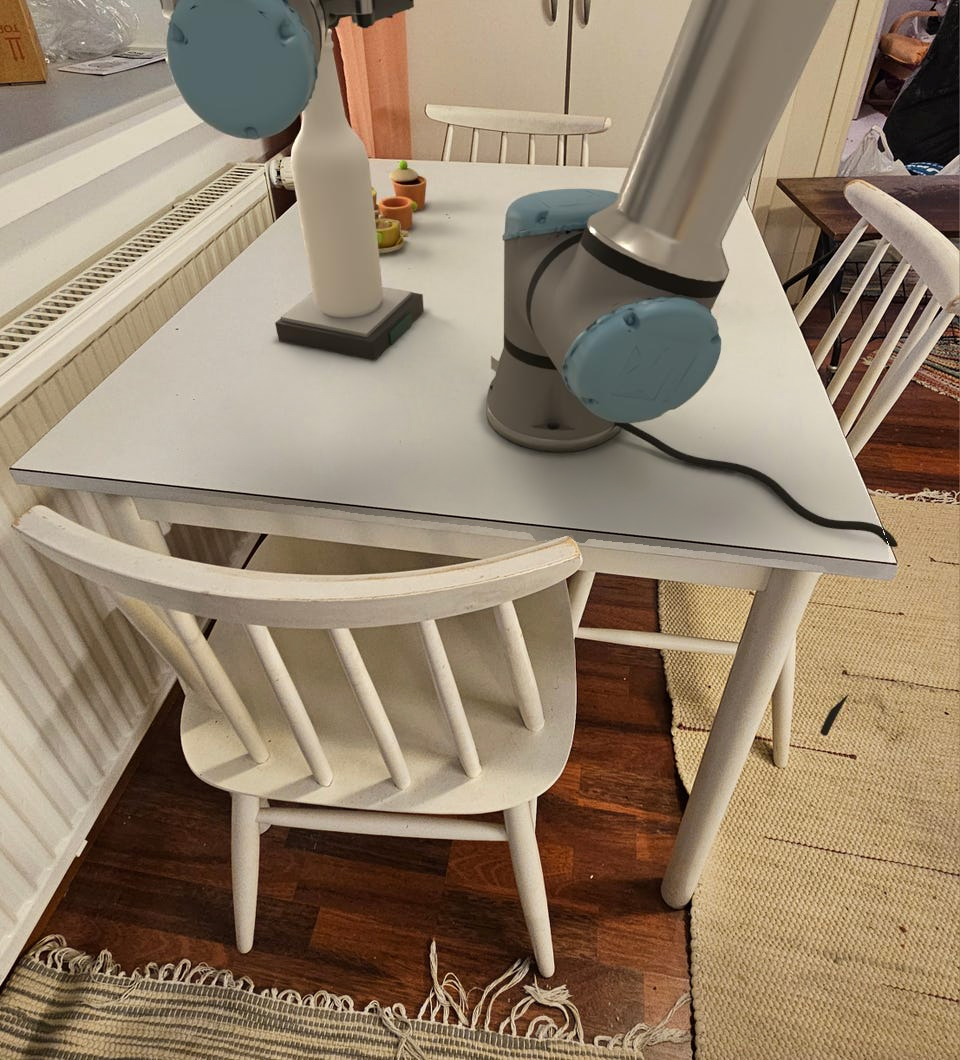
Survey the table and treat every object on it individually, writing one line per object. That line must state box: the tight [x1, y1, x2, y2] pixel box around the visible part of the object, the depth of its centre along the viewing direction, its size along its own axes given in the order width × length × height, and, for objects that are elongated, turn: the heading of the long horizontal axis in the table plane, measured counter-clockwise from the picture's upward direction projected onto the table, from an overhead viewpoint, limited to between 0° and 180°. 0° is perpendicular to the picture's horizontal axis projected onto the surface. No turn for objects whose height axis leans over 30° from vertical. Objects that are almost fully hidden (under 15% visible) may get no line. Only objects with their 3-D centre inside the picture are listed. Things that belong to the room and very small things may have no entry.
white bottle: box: [290, 28, 383, 318], centre depth 87 cm, size 9×9×30 cm
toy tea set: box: [372, 160, 427, 254], centre depth 122 cm, size 26×16×10 cm, turn 169°
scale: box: [274, 286, 425, 361], centre depth 98 cm, size 14×14×3 cm
